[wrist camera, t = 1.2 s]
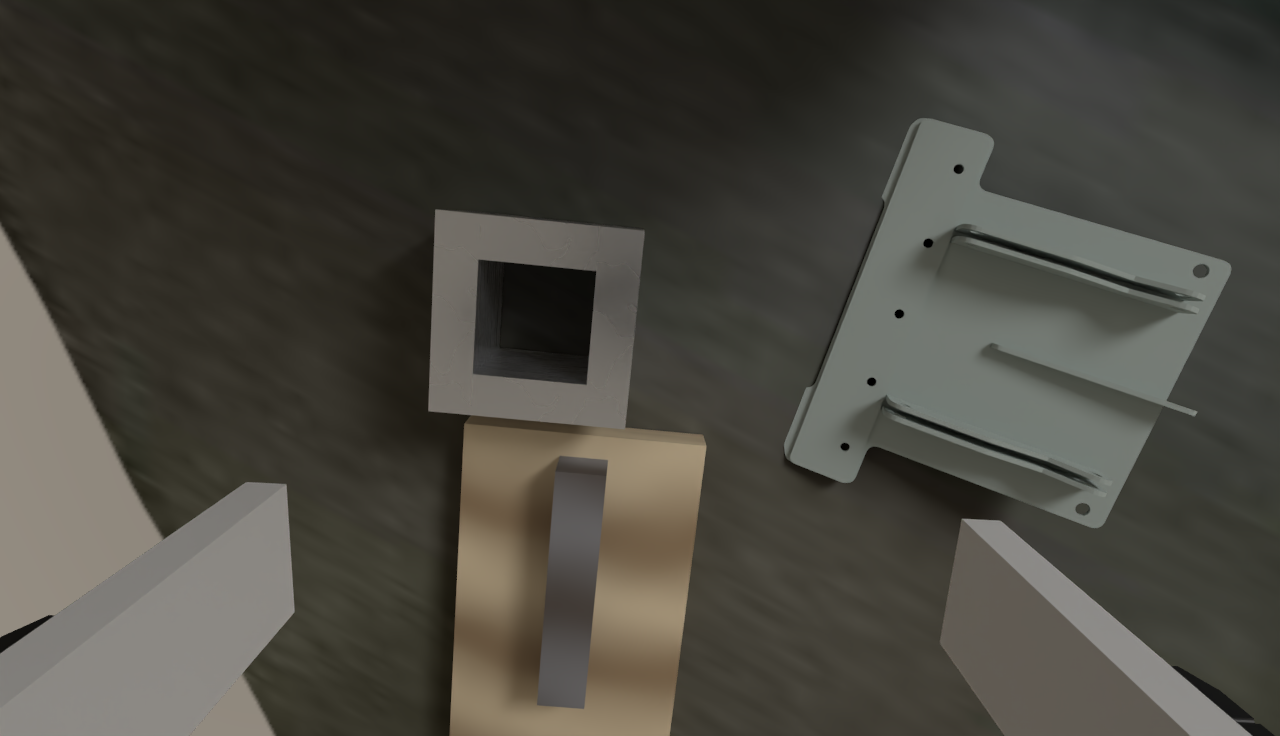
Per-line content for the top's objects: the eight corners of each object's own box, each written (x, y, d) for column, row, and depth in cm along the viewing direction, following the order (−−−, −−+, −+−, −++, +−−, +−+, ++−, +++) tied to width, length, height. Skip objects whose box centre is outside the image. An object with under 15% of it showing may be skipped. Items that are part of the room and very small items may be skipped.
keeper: (472, 413, 29) (410, 490, 21) (702, 434, 30) (730, 519, 21) (453, 801, 34) (394, 992, 25) (654, 816, 34) (662, 1009, 26)
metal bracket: (1323, 213, 23) (1118, 603, 26) (1224, 227, 28) (1065, 545, 31) (894, 96, 25) (755, 458, 28) (881, 130, 31) (766, 430, 34)
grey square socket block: (470, 210, 28) (435, 209, 23) (642, 228, 28) (644, 230, 23) (462, 378, 29) (428, 411, 24) (626, 394, 29) (624, 429, 24)
